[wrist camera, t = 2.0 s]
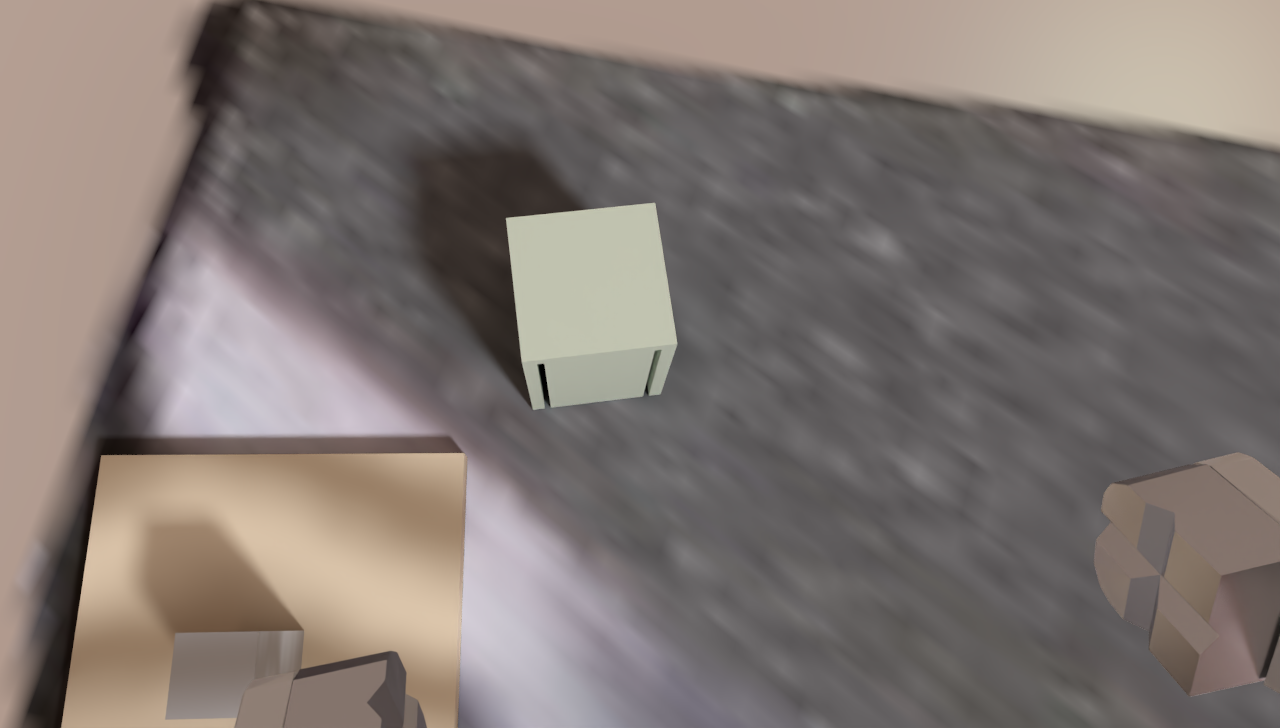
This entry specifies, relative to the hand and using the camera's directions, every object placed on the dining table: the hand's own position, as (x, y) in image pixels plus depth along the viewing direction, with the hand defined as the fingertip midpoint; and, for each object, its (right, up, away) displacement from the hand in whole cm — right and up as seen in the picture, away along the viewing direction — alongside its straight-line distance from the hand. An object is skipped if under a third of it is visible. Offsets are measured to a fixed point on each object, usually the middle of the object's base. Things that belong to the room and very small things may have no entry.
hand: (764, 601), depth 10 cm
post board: (-15, -9, +24) cm, 30 cm away
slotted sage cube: (-4, +4, +29) cm, 29 cm away
